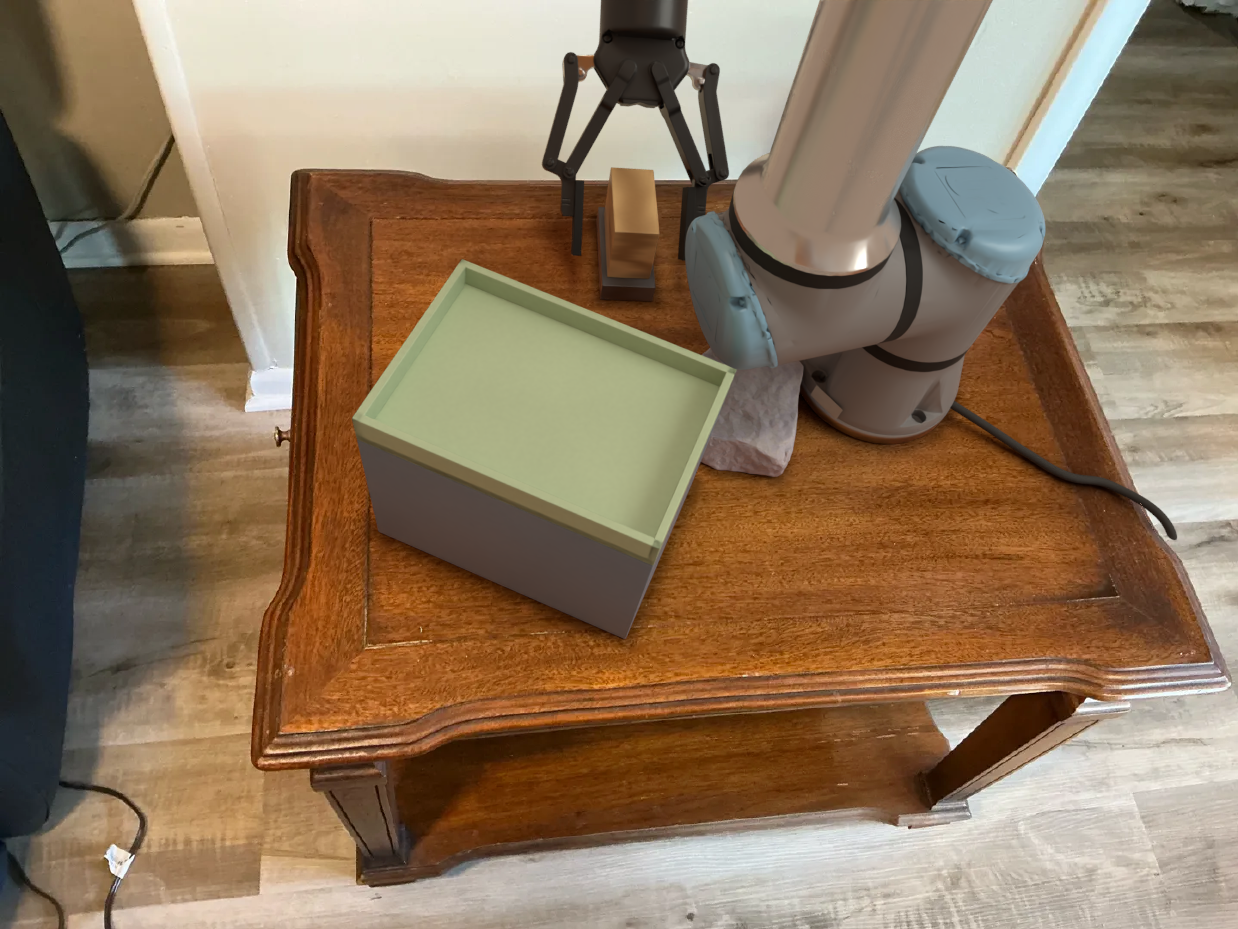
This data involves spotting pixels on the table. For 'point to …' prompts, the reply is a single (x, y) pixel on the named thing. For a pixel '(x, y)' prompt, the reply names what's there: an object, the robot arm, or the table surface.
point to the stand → (508, 542)
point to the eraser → (628, 236)
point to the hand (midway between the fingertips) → (630, 257)
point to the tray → (548, 409)
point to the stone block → (756, 420)
